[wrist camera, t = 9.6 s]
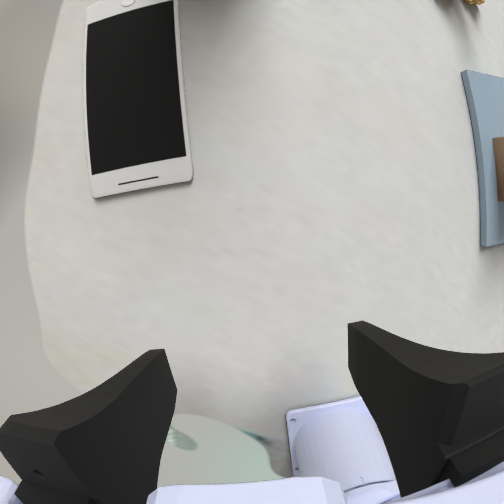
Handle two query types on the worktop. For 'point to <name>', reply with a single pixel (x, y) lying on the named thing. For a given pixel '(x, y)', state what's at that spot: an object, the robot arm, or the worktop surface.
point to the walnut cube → (499, 165)
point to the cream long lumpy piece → (475, 1)
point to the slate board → (487, 148)
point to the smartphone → (134, 96)
